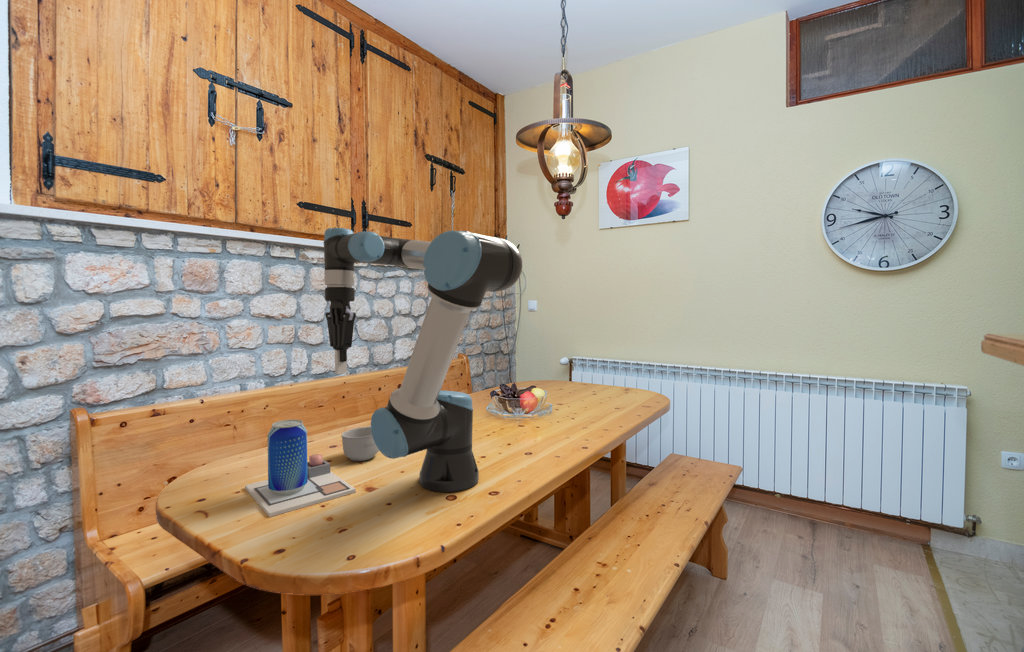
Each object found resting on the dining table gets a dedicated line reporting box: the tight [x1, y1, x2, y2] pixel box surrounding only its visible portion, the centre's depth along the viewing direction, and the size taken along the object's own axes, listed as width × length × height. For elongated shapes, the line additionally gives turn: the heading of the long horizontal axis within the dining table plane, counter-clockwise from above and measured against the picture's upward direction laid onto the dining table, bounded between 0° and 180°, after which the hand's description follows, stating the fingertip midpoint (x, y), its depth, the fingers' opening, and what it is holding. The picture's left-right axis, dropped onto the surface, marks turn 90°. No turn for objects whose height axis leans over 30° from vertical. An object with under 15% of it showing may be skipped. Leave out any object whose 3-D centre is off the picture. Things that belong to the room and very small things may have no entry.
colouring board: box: [244, 458, 357, 518], centre depth 109 cm, size 20×19×3 cm
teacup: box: [340, 425, 380, 462], centre depth 134 cm, size 14×11×8 cm
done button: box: [308, 453, 324, 467], centre depth 119 cm, size 3×3×3 cm
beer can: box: [267, 419, 308, 495], centre depth 107 cm, size 8×8×16 cm
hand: (341, 373), depth 123 cm, fingers closed
